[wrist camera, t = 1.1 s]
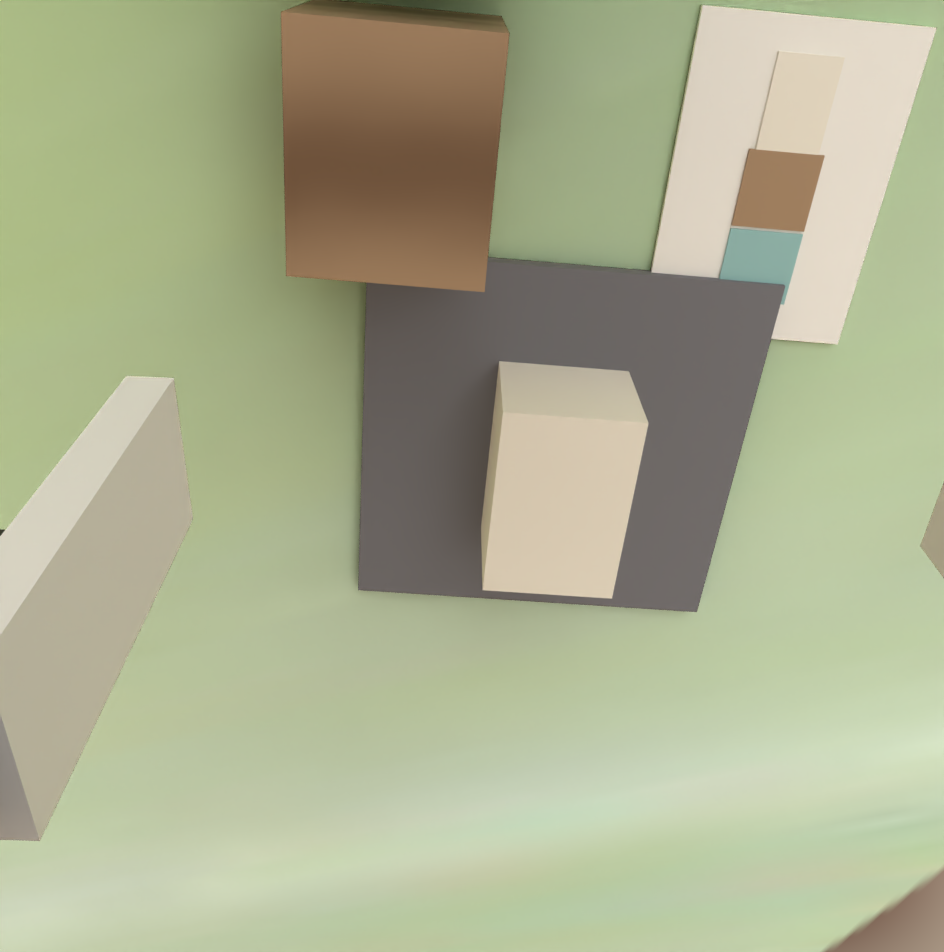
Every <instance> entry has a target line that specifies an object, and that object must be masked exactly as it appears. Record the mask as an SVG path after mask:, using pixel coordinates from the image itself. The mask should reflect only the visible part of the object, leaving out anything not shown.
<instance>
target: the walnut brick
mask: <svg viewBox="0 0 944 952" xmlns="http://www.w3.org/2000/svg"><path fill="white" fill-rule="evenodd" d="M281 38H282V87H283V137H284V186H285V235H286V276H293V277H305V278H317V279H329V280H342V281H354V282H366V283H379V284H391V285H403V286H415V287H428V288H440V289H452V290H464V291H477V292H485V282H486V272H487V261H488V251H489V241H490V230H491V220H492V209H493V199H494V189H495V178H496V168H497V158H498V147H499V137H500V126H501V116H502V106H503V95H504V85H505V75H506V64H507V54H508V43H509V31H508V29H507V27H506V25H505V23H504V21H503V18H502V16H495V15H485V14H474V13H464V12H453V11H443V10H433V9H422V8H412V7H401V6H391V5H381V4H370V3H360V2H349V1H339V0H312V1H309V2H306V3H304V4H301V5H298V6H295V7H293V8H290V9H287V10H284V11H282V12H281Z"/></svg>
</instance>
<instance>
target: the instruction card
mask: <svg viewBox="0 0 944 952" xmlns="http://www.w3.org/2000/svg"><path fill="white" fill-rule="evenodd" d="M936 29H937V28H935V27H926V26H915V25H905V24H895V23H885V22H874V21H864V20H854V19H844V18H833V17H823V16H813V15H803V14H793V13H782V12H772V11H762V10H752V9H741V8H731V7H721V6H711V5H701V9H700V14H699V19H698V25H697V30H696V35H695V40H694V46H693V51H692V56H691V61H690V67H689V72H688V77H687V82H686V87H685V93H684V98H683V103H682V108H681V114H680V119H679V124H678V129H677V134H676V140H675V145H674V150H673V155H672V161H671V166H670V171H669V176H668V181H667V187H666V192H665V197H664V202H663V208H662V213H661V218H660V223H659V228H658V234H657V239H656V244H655V249H654V255H653V260H652V265H651V270H650V271H651V273H663V274H675V275H687V276H699V277H712V278H719V279H725V280H737V281H749V282H761V283H773V284H784V285H785V290H784V293H783V297H782V301H781V304H780V308H779V312H778V315H777V319H776V323H775V326H774V330H773V334H772V337H771V339H778V340H791V341H803V342H816V343H828V344H838V341H839V338H840V335H841V332H842V329H843V325H844V322H845V319H846V316H847V313H848V309H849V306H850V303H851V300H852V297H853V294H854V290H855V287H856V284H857V281H858V278H859V274H860V271H861V268H862V265H863V262H864V258H865V255H866V252H867V249H868V246H869V242H870V239H871V236H872V233H873V230H874V227H875V223H876V220H877V217H878V214H879V211H880V207H881V204H882V201H883V198H884V195H885V191H886V188H887V185H888V182H889V179H890V176H891V172H892V169H893V166H894V163H895V160H896V156H897V153H898V150H899V147H900V144H901V140H902V137H903V134H904V131H905V128H906V124H907V121H908V118H909V115H910V112H911V109H912V105H913V102H914V99H915V96H916V93H917V89H918V86H919V83H920V80H921V77H922V73H923V70H924V67H925V64H926V61H927V57H928V54H929V51H930V48H931V45H932V42H933V38H934V35H935V32H936Z"/></svg>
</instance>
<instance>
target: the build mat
mask: <svg viewBox="0 0 944 952" xmlns="http://www.w3.org/2000/svg"><path fill="white" fill-rule="evenodd" d="M784 290H785V285H784V284H773V283H761V282H749V281H737V280H725V279H719V278H712V277H699V276H687V275H675V274H663V273H651V271H649V270H637V269H625V268H612V267H600V266H588V265H576V264H564V263H552V262H540V261H528V260H516V259H504V258H492V257H488V261H487V272H486V282H485V292H477V291H464V290H452V289H440V288H428V287H415V286H403V285H391V284H379V283H367V285H366V322H365V359H364V397H363V434H362V472H361V509H360V547H359V584H358V590H366V591H381V592H397V593H412V594H427V595H443V596H458V597H474V598H489V599H504V600H520V601H535V602H551V603H566V604H581V605H597V606H612V607H628V608H643V609H659V610H674V611H689V612H697V609H698V606H699V602H700V598H701V594H702V591H703V587H704V583H705V580H706V576H707V572H708V569H709V565H710V561H711V558H712V554H713V550H714V547H715V543H716V539H717V536H718V532H719V528H720V525H721V521H722V517H723V514H724V510H725V506H726V503H727V499H728V495H729V492H730V488H731V484H732V481H733V477H734V473H735V470H736V466H737V462H738V459H739V455H740V451H741V448H742V444H743V440H744V437H745V433H746V429H747V426H748V422H749V418H750V415H751V411H752V407H753V403H754V400H755V396H756V392H757V389H758V385H759V381H760V378H761V374H762V370H763V367H764V363H765V359H766V356H767V352H768V348H769V345H770V341H771V337H772V334H773V330H774V326H775V323H776V319H777V315H778V312H779V308H780V304H781V301H782V297H783V293H784Z"/></svg>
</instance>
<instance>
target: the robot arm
mask: <svg viewBox="0 0 944 952" xmlns="http://www.w3.org/2000/svg"><path fill="white" fill-rule="evenodd" d="M192 520H193V515H192V508H191V500H190V493H189V486H188V478H187V471H186V464H185V457H184V449H183V442H182V435H181V427H180V420H179V413H178V405H177V398H176V391H175V383H174V378H166V377H141V376H126V377H125V378H124V379H123V381H122V382H121V383H120V384H119V386H118V387H117V388H116V389H115V391H114V392H113V393H112V395H111V396H110V397H109V398H108V400H107V401H106V402H105V403H104V405H103V406H102V407H101V409H100V410H99V411H98V412H97V414H96V415H95V416H94V417H93V419H92V420H91V421H90V423H89V424H88V425H87V426H86V428H85V429H84V430H83V432H82V433H81V434H80V435H79V437H78V438H77V439H76V440H75V442H74V443H73V444H72V446H71V447H70V448H69V449H68V451H67V452H66V453H65V454H64V456H63V457H62V458H61V460H60V461H59V462H58V463H57V465H56V466H55V467H54V468H53V470H52V471H51V472H50V474H49V475H48V476H47V477H46V479H45V480H44V481H43V482H42V484H41V485H40V486H39V488H38V489H37V490H36V491H35V493H34V494H33V495H32V496H31V498H30V499H29V500H28V502H27V503H26V504H25V505H24V507H23V508H22V509H21V511H20V512H19V513H18V514H17V516H16V517H15V518H14V519H13V521H12V522H11V523H10V525H9V526H8V527H7V528H6V530H0V840H29V841H40V840H41V837H42V835H43V833H44V831H45V829H46V827H47V825H48V823H49V821H50V819H51V816H52V814H53V812H54V810H55V808H56V806H57V804H58V802H59V800H60V798H61V795H62V793H63V791H64V789H65V787H66V785H67V783H68V781H69V779H70V777H71V774H72V772H73V770H74V768H75V766H76V764H77V762H78V760H79V758H80V756H81V753H82V751H83V749H84V747H85V745H86V743H87V741H88V739H89V737H90V735H91V732H92V730H93V728H94V726H95V724H96V722H97V720H98V718H99V716H100V714H101V711H102V709H103V707H104V705H105V703H106V701H107V699H108V697H109V695H110V693H111V690H112V688H113V686H114V684H115V682H116V680H117V678H118V676H119V674H120V672H121V669H122V667H123V665H124V663H125V661H126V659H127V657H128V655H129V653H130V651H131V648H132V646H133V644H134V642H135V640H136V638H137V636H138V634H139V632H140V630H141V627H142V625H143V623H144V621H145V619H146V617H147V615H148V613H149V611H150V609H151V606H152V604H153V602H154V600H155V598H156V596H157V594H158V592H159V590H160V588H161V585H162V583H163V581H164V579H165V577H166V575H167V573H168V571H169V569H170V567H171V564H172V562H173V560H174V558H175V556H176V554H177V552H178V550H179V548H180V546H181V543H182V541H183V539H184V537H185V535H186V533H187V531H188V529H189V527H190V525H191V522H192ZM920 547H921V548H922V549H923V551H924V552H925V553H926V555H927V556H928V557H929V559H930V560H931V561H932V563H933V564H934V565H935V567H936V568H937V570H938V571H939V572H940V574H941V575H942V576H943V578H944V483H943V485H942V488H941V491H940V494H939V496H938V499H937V502H936V504H935V507H934V510H933V512H932V515H931V518H930V521H929V523H928V526H927V529H926V531H925V534H924V537H923V539H922V542H921V545H920Z"/></svg>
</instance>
